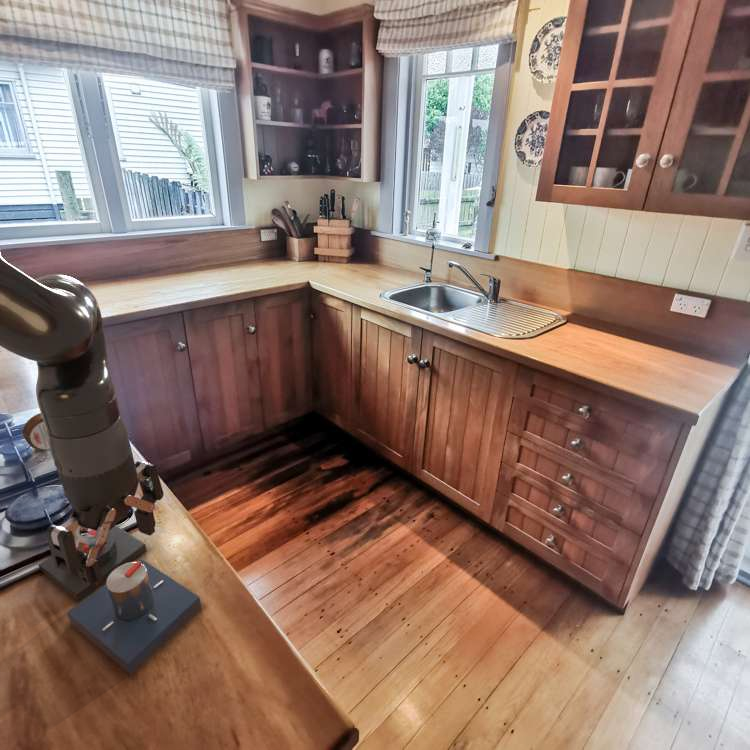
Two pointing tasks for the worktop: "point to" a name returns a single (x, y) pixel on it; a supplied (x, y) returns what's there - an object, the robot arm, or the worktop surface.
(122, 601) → the knob
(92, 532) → the button
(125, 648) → the panel
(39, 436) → the tin
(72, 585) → the housing
